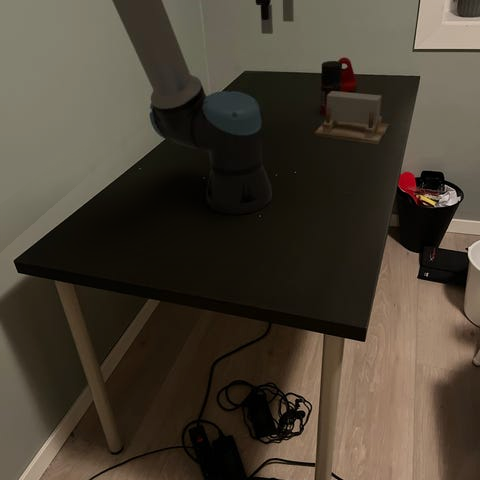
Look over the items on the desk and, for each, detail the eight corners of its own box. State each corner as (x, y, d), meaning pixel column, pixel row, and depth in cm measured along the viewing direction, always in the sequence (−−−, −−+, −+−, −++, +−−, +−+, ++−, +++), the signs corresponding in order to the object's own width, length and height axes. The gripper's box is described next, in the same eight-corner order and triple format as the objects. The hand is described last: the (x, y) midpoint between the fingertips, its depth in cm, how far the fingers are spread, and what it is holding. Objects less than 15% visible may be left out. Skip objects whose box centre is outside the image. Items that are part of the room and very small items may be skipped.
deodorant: (316, 114, 150) (317, 65, 141) (327, 108, 153) (329, 59, 144) (332, 117, 146) (334, 67, 137) (343, 111, 149) (346, 62, 141)
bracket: (328, 92, 165) (329, 62, 159) (330, 86, 170) (331, 57, 164) (354, 92, 163) (356, 62, 157) (355, 86, 168) (357, 57, 162)
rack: (377, 144, 129) (380, 117, 124) (314, 136, 136) (315, 110, 132) (388, 127, 137) (391, 102, 133) (328, 120, 145) (329, 96, 140)
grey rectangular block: (375, 125, 130) (377, 100, 126) (326, 119, 136) (327, 95, 132) (379, 120, 133) (381, 95, 129) (330, 114, 139) (331, 91, 135)
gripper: (268, -66, 101) (271, 39, 113) (310, -76, 119) (309, 16, 131) (237, -65, 104) (243, 38, 117) (282, -74, 122) (283, 16, 134)
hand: (278, 27), depth 124 cm, fingers open, 13 cm apart
